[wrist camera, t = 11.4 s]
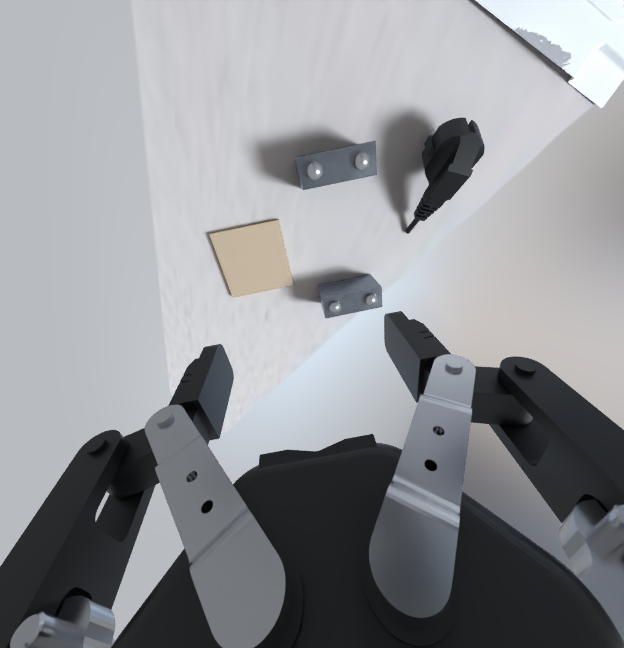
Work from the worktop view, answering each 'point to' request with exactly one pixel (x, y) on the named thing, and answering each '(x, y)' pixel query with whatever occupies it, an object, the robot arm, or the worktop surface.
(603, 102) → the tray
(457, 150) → the power plug
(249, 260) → the mat
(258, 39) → the worktop surface
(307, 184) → the metal blocks
